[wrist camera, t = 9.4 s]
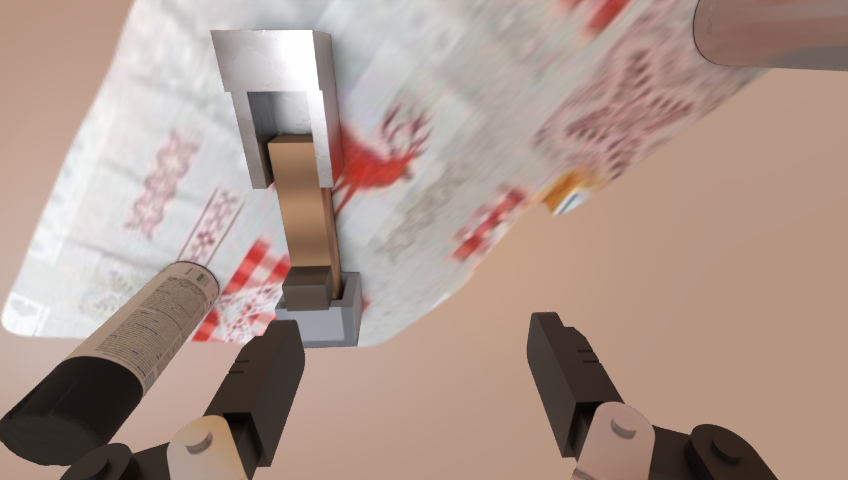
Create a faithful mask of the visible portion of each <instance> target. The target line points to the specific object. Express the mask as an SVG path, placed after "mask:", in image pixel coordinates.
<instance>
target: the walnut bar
mask: <svg viewBox="0 0 848 480" xmlns="http://www.w3.org/2000/svg"><path fill="white" fill-rule="evenodd" d="M267 144H268V149H269V154H270V159H271V164H272V169H273V174H274V179H275V184H276V189H277V194H278V199H279V204H280V209H281V215H282V220H283V225H284V230H285V235H286V240H287V245H288V250H289V255H290V260H291V265H292V267H291V269H290V271H289V273H288V275H287V277H286V279H285V281H284V283H283V285H282V290H283V294H284V299H285V304H286V308H287V312H290V311H321V310H329V307H330V304H331V300H342V299H343V287H342V279H341V271H340V263H339V255H338V247H337V239H336V231H335V224H334V216H333V208H332V200H331V192H330V187H322V188H320V184H319V177H318V170H317V163H316V156H315V149H314V141H313V134H280V135H279V136H277V137H276V138H274V139H273V140H271V141H270V142H269V143H267Z"/></svg>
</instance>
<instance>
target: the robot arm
mask: <svg viewBox="0 0 848 480" xmlns="http://www.w3.org/2000/svg"><path fill="white" fill-rule="evenodd" d="M694 36H695V41H696V44H697V47H698V49H699V51H700V52H701V54H702V55H703V56H704V57H705V58H706V59H708V60H709V61H711V62H713V63H716V64H720V65H731V66H752V67H769V68H791V69H811V70H812V69H813V70H833V71H848V0H700V1H699V4H698V7H697V10H696V15H695V20H694ZM527 359H528V363H529V366H530V369H531V372H532V375H533V378H534V380H535V383H536V386H537V389H538V392H539V394H540V397H541V400H542V402H543V405H544V408H545V411H546V413H547V416H548V419H549V422H550V425H551V428H552V430H553V433H554V436H555V439H556V441H557V444H558V447H559V450H560V452H561V455H562V458H563V457H575V458H576V461H577V466H576V469H575V470H574V472H573V474H572V477H571V480H778V479H777V478H776V476H775V475H774V474H773V473H772V471H771V470H770V469H769V467H768V466H767V465H766V464H765V462H764V461H763V460H762V459H761V457H760V456H759V455H758V453H757V452H756V451H755V450H754V449H753V447H752V446H751V445H750V444H748V442H746V441H745V440H744V439H743V438H741V437H740V436H738V435H737V434H735V433H733V432H732V431H730V430H728V429H725V428H723V427H720V426H717V425H712V424H702V425H698V426H696V427H695V428H694V429H693V430H692V433H691V434H690V435H688V434H684V433H680V432H676V431H672V430H668V429H664V428H660V427H657V426H654V425H651V423H650V422H649V421H648V419H647V418H646V417H645V416H644V415H643V414H642V413H640V412H639V411H638V410H636V409H635V408H633V407H631V406H629V405H626V404H625V403H624V402H623V400H622V398H621V396H620V395H619V393H618V392H617V390H616V388H615V386H614V385H613V383H612V381H611V380H610V378H609V376H608V375H607V373H606V371H605V370H604V368H603V366H602V364H601V363H599V359H598V358H597V356H596V355H595V353H593V349H592V348H591V346H590V344H589V342H588V341H587V339H586V337H584V336H583V335H582V334H581V333H580V332H579V331H577V330H576V329H575V328H574V327H564V325H563V323H562V322H561V320H560V318H559V316H558V314H557V313H556V312H537V313H532V315H531V321H530V328H529V334H528V341H527ZM304 366H305V353H304V348H303V344H302V340H301V335H300V331H299V327H298V323H297V321H296V320H295V319H293V320H272V321H271V322H270V324H269V325H268V327H267V329H266V331H265V333H264V335H263V336H255V337H254V338H253V339H252V340H250V341H249V342H248V343H247V344H246V345H245V346H244V347H243V348H242V349H241V351H240V353H239V354H238V356H237V358H236V360H235V363H233V365H232V367H231V368H230V370H229V374H227V376H226V377H225V379H224V381H223V382H222V384H221V386H220V388H219V389H218V391H217V393H216V394H215V396H214V398H213V400H212V401H211V403H210V405H209V407H208V408H207V410H206V412H205V413H204V415H203V417H201V418H198V419H196V420H193V421H192V422H190V423H189V424H187V425H186V426H184V427H183V428H182V429H180V430H179V431H178V433H176V435H175V436H174V437H173V439H172V440H171V442H168V443H165V444H162V445H159V446H156V447H153V448H149V449H146V450H143V451H140V452H137V453H134V454H133V453H132V452H131V450H130V449H129V447H128V446H127V445H125V444H121V443H112V444H107V445H104V446H101V447H98V448H96V449H94V450H92V451H90V452H89V453H87V454H85V455H84V456H83V457H81V458H80V459H79V460H77V461H76V462H75V463H74V464H73V465H72V466H71V467H70V468H69V469H68V470H67V471H66V472H65V473H64V475H63V476H62V477H61V479H60V480H252V478H253V475H254V473H255V470H256V468H257V467H270V466H271V463H272V460H273V458H274V455H275V451H276V449H277V446H278V443H279V440H280V437H281V435H282V432H283V429H284V426H285V423H286V420H287V417H288V414H289V411H290V408H291V406H292V403H293V399H294V397H295V394H296V391H297V388H298V385H299V382H300V380H301V377H302V374H303V371H304Z"/></svg>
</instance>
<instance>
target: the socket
mask: <svg viewBox="0 0 848 480" xmlns="http://www.w3.org/2000/svg"><path fill="white" fill-rule="evenodd" d="M341 279H342V287H343V299H342V300H331V304H330V307H329V310H321V311H290V312H287V308H286V304H285V299H284V294H282V296H281V298H280V300H279V302H278V303H277V305H276V307H275V313H276V317H277V320H293V319H295V320H296V321H297V323H298V327H299V331H300V335H301V340H302V344H303V348H324V347H351V346H357V344H358V337H359V331H360V325H361V318H362V312H363V303H362V293H361V283H360V273H359V272H343V273H341Z"/></svg>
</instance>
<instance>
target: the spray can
mask: <svg viewBox="0 0 848 480" xmlns="http://www.w3.org/2000/svg"><path fill="white" fill-rule="evenodd" d="M218 291H219V288H218V284H217V282H216V280H215V279H214V277H213V275H212V274H211V273H210V272H209V271H207V270H206V269H205V268H204V267H201V266H198V265H195V264H192V263H186V262H178V263H175V264H172V265H170V266H168V267H166V268H164V269H163V270H162V271H161V272H160V273H158V274H157V275H156V276H155V277H154V278H153V279H152V280H151V281H150V282H149V283H148V284H146V285H145V286H144V287H143V288H142V289H141V290H140V291H139V292H138V293H137V294H136V295H134V296H133V297H132V298H131V299H130V300H129V301H128V302H127V303H126V304H125V305H124V306H122V307H121V308H120V309H119V310H118V311H117V312H116V313H115V314H114V315H112V316H111V317H110V318H109V319H108V320H107V321H106V322H105V323H104V324H103V325H102V326H100V327H99V328H98V329H97V330H96V331H95V332H94V333H93V334H92V335H90V336H89V337H88V338H87V339H86V340H85V341H84V342H83V343H82V344H81V345H80V346H78V347H77V348H76V349H75V350H74V351H73V352H72V353H71V354H70V355H69V356H67V357H66V358H65V359H64V360H63V361H62V362H61V363H60V364H59V365H58V366H57V367H56V368H55V369H54V370H53V371H52V372H51V373H50V374H49V375H48V376H46V377H45V378H44V379H43V380H42V381H41V382H40V383H39V384H38V385H37V386H36V387H35V388H34V389H33V390H32V391H30V392H29V393H28V394H27V395H26V396H25V397H24V398H23V399H22V400H21V401H20V402H19V403H18V404H17V405H16V406H14V407H13V408H12V409H11V410H10V411H9V412H8V413H7V414H6V415H5V416H4V417H3V418H2V419H1V420H0V441H1V442H3V443H4V444H5V446H6V447H7V448H8V449H9V450H11V451H12V452H13V453H15V454H16V455H17V456H19V457H22V458H23V459H26V460H28V461H31V462H33V463H36V464H39V465H44V466H49V465H60V466H69V465H73V464H74V463H75V462H76V461H77V460H79V459H80V458H81V457H83V456H84V455H85V454H87V453H89V452H90V451H92V450H94V449H96V448H98V447H101V446H104V445H107V444H108V443H109V441H110V440H111V439H112V437H113V436H114V435H115V434H116V432H117V431H118V430H119V428H120V427H121V426H122V424H123V423H124V422H125V420H126V419H127V418H128V417H129V415H130V414H131V413H132V411H133V410H134V409H135V408H136V407H137V405H138V404H139V403H140V401H141V400H142V398H143V397H144V396H145V395H146V393H147V391H148V390H149V389H150V388H151V387H152V385H153V384H154V382H155V381H156V379H157V378H158V377H159V376H160V374H161V373H162V371H163V370H164V369H165V368H166V366H167V365H168V363H169V362H170V361H171V360H172V358H173V357H174V356H175V354H176V353H177V352H178V350H179V349H180V348H181V346H182V345H183V343H184V342H185V341H186V339H187V338H188V337H189V336H190V334H191V333H192V331H193V330H194V329H195V327H196V326H197V325H198V323H199V322H200V321H201V319H202V318H203V317H204V315H205V314H206V313H207V311H208V310H209V309H210V307H211V306H212V305H213V303H214V302H215V300H216V298H217V296H218Z"/></svg>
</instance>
